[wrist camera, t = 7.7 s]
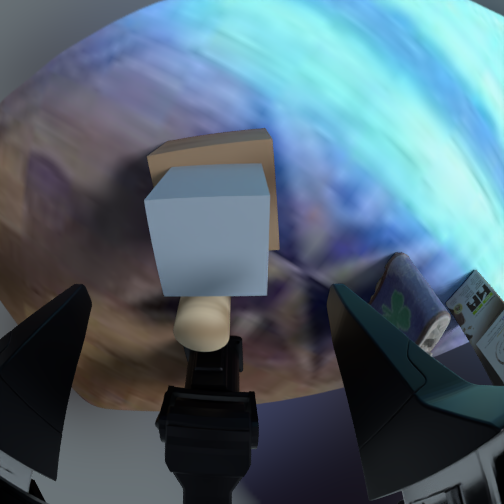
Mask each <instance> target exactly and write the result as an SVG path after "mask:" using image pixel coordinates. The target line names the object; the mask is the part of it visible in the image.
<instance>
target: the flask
mask: <svg viewBox="0 0 504 504" xmlns="http://www.w3.org/2000/svg"><path fill="white" fill-rule="evenodd" d="M385 268H386V270H385V272H384V273H383V275H382V276H381V278H380V279H379V281H378V283H377V285H376V288H375V294H374V295H372V296H371V300H370V302H369V303H368V304H369V305H370V306H371V307H372V308H374V309H375V310H376V311H377V312H378V313H380V314H381V315H382V316H383V317H384V318H386V319H387V320H388V321H389V322H390V323H392V324H393V325H394V326H395V327H396V328H398V329H399V330H400V331H401V332H402V333H404V334H405V335H406V336H407V337H408V338H409V339H411V340H412V341H413V342H414V343H415V344H417V345H418V346H419V347H420V348H421V349H423V350H424V351H425V352H426V353H428V354H429V355H430V356H432V353H431V350H432V349H433V348H434V346H435V345H436V344H437V342H438V341H439V339H440V338H441V336H442V334H443V333H444V331H445V330H446V328H447V326H448V324H449V322H450V319H451V316H450V314H449V313H448V311H447V309H446V308H445V307H444V305H443V304H442V303H441V301H440V300H439V298H438V297H437V295H436V294H435V292H434V291H433V289H432V288H431V286H430V285H429V283H428V282H427V281H426V280H425V279H424V277H423V276H422V274H421V273H420V272H419V270H418V269H417V268H416V266H415V265H414V264H413V262H412V261H411V259H410V258H409V256H408V255H406V254H405V253H402V252H401V253H395V254H394V256H393V257H392V258H391V259H390V260H389V261H388V263H387V264H386V266H385ZM438 362H439V361H438Z"/></svg>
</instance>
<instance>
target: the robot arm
mask: <svg viewBox="0 0 504 504" xmlns="http://www.w3.org/2000/svg"><path fill="white" fill-rule="evenodd" d="M91 308H92V302H91V299H90V296H89V294H88V292H87V289H86V287H85V286H84V285H83V284H74V285H73V286H71V287H70V288H68V289H67V290H65V291H64V292H63V293H61V294H60V295H58V296H57V297H55V298H54V299H53V300H51V301H50V302H48V303H47V304H46V305H44V306H43V307H42V308H40V309H39V310H38V311H36V312H35V313H33V314H32V315H31V316H29V317H28V318H27V319H26V320H24V321H23V322H22V323H20V324H19V325H18V326H16V327H15V328H14V329H13V330H12V331H10V332H9V333H7V334H6V335H5V336H4V337H2V338H1V339H0V504H48V503H46V502H45V500H44V498H43V496H42V494H41V492H40V490H39V488H38V486H37V484H36V482H35V480H33V479H31V476H32V472H33V471H35V472H38V473H39V474H41V475H43V476H45V477H48V478H50V479H52V480H54V481H56V479H57V470H58V461H59V452H60V445H61V438H62V431H63V425H64V420H65V414H66V410H67V405H68V399H69V396H70V391H71V387H72V383H73V379H74V375H75V371H76V367H77V364H78V360H79V356H80V353H81V350H82V346H83V343H84V339H85V335H86V330H87V325H88V320H89V316H90V312H91ZM327 311H328V317H329V323H330V329H331V336H332V342H333V346H334V350H335V354H336V358H337V361H338V365H339V369H340V372H341V376H342V380H343V384H344V388H345V391H346V396H347V399H348V403H349V408H350V412H351V416H352V420H353V424H354V428H355V433H356V438H357V442H358V446H359V452H360V457H361V461H362V466H363V471H364V476H365V481H366V487H367V492H368V497H369V501H371V500H374V499H378V498H381V497H384V496H387V495H390V494H393V493H396V492H398V491H401V490H402V493H403V498H404V500H401V501H399V502H398V504H504V386H486V385H475V384H472V383H469V382H467V381H465V380H463V379H462V378H460V377H459V376H458V375H456V374H455V373H453V372H452V371H451V370H449V369H448V368H447V367H445V366H444V365H442V364H441V363H440V362H438V361H437V360H436V359H434V358H433V357H432V356H430V355H429V354H428V353H426V352H425V351H424V350H423V349H421V348H420V347H419V346H418V345H417V344H415V343H414V342H413V341H412V340H411V339H409V338H408V337H407V336H406V335H405V334H404V333H402V332H401V331H400V330H399V329H398V328H396V327H395V326H394V325H393V324H392V323H390V322H389V321H388V320H387V319H386V318H384V317H383V316H382V315H381V314H380V313H378V312H377V311H376V310H375V309H374V308H372V307H371V306H370V305H369V304H368V303H366V302H365V301H364V300H363V299H361V298H360V297H359V296H358V295H356V294H355V293H354V292H353V291H352V290H350V289H349V288H348V287H347V286H345V285H344V284H332V285H331V287H330V291H329V296H328V300H327ZM183 347H184V350H185V354H186V357H187V361H188V367H187V375H186V382H185V388H179V387H174V386H169V387H168V390H167V392H166V393H165V395H164V400H163V404H162V407H161V411H160V413H159V415H158V417H157V419H156V422H155V425H156V427H157V428H158V429H159V433H160V438H161V441H162V442H165V462H166V464H167V466H168V468H169V470H170V472H173V473H174V475H175V477H176V478H177V480H178V481H179V483H180V484H181V486H182V488H183V504H232V491H233V490H234V488H235V487H236V486H237V484H238V483H239V481H240V480H241V479H242V477H244V476H245V474H246V473H247V471H248V469H249V467H250V465H251V449H256V448H257V446H258V437H259V427H258V426H259V425H258V416H257V407H256V399H255V392H254V391H249V392H239V372H242V371H243V352H242V338H241V337H229V341H228V342H227V344H226V345H225V346H224V347H222V348H220V349H218V350H215V351H211V352H200V351H195V350H191V349H189V348H186V347H185V346H183Z"/></svg>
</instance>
